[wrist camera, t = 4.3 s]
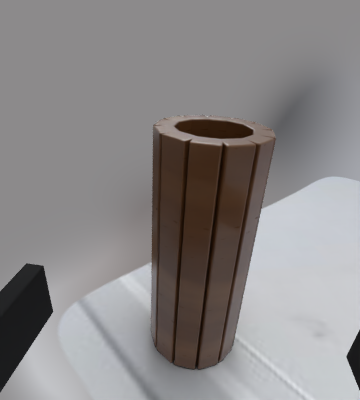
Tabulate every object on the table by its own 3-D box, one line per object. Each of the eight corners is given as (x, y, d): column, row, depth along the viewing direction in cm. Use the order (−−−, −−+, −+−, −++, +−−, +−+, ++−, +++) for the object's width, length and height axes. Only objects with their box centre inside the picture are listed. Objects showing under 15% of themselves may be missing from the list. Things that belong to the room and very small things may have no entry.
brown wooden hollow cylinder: (134, 329, 20) (128, 123, 13) (188, 287, 24) (204, 111, 17) (198, 389, 17) (230, 155, 10) (248, 329, 20) (296, 131, 14)
